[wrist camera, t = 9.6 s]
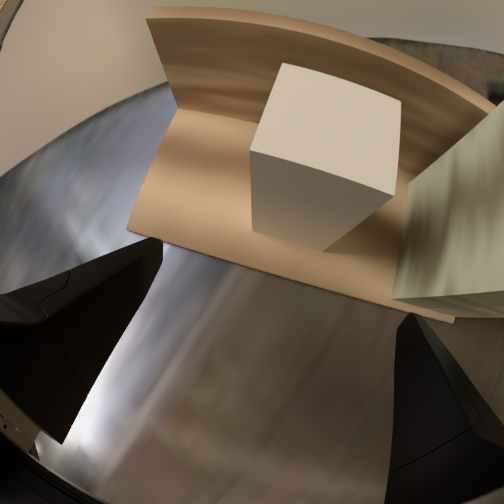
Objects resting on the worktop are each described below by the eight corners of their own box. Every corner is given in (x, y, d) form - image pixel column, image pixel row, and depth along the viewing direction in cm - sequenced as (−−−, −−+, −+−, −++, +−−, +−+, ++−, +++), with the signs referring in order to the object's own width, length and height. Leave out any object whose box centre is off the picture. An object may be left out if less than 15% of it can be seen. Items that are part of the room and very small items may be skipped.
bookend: (322, 251, 18) (394, 195, 8) (251, 230, 18) (249, 149, 8) (335, 193, 18) (401, 101, 8) (269, 173, 19) (282, 62, 9)
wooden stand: (448, 323, 17) (588, 326, 5) (129, 231, 19) (-3, 146, 6) (463, 190, 19) (567, 122, 7) (185, 101, 20) (144, -32, 8)
